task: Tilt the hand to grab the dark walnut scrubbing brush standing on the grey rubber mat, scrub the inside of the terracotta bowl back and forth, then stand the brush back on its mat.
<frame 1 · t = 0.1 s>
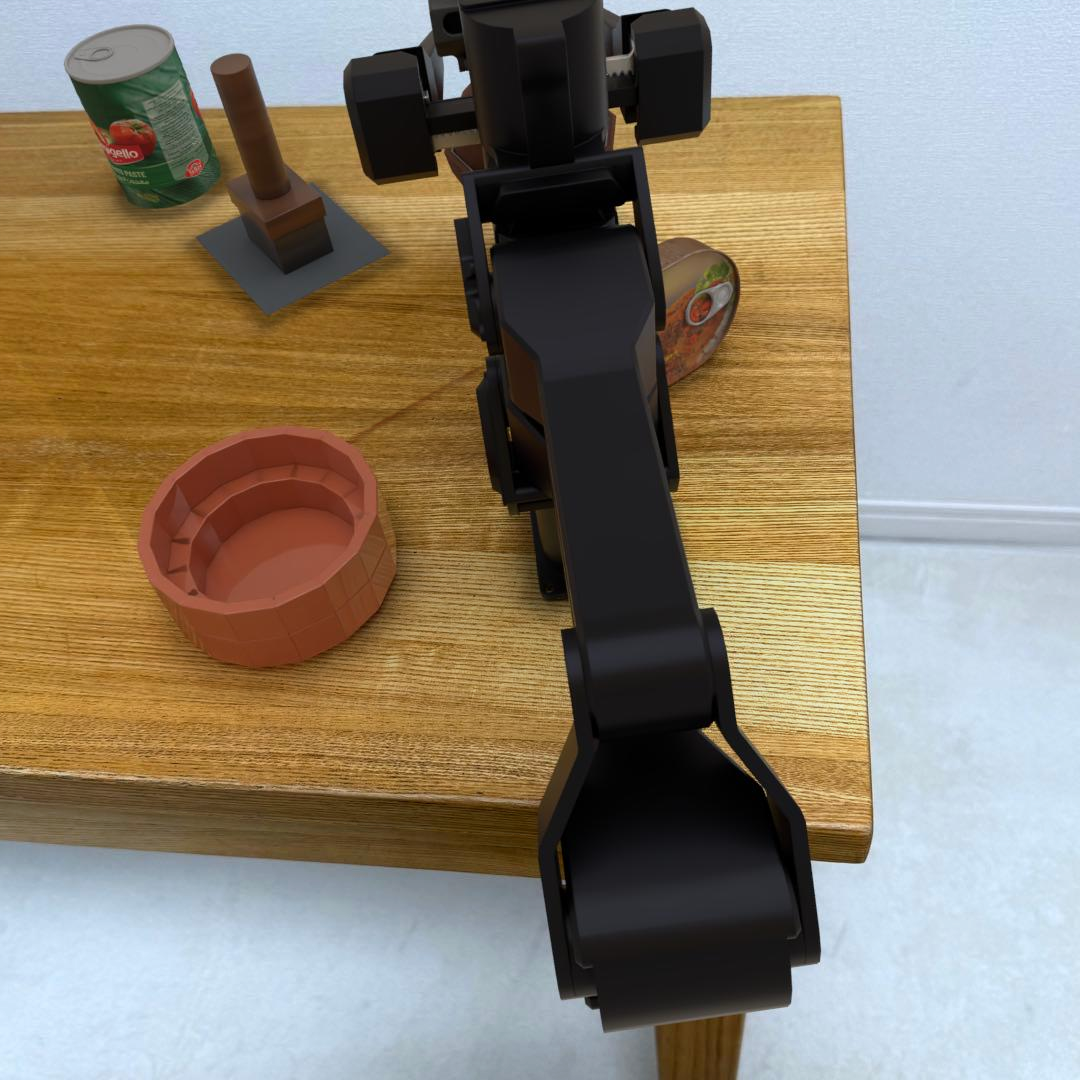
hand: (515, 26, 62), 17 cm above the table, tool horizontal, fingers open, 9 cm apart
bowl: (288, 576, 60), on the table
tin: (632, 389, 66), on the table
brush: (290, 244, 78), point 1 cm above the table, touching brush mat
canned tomato: (175, 187, 86), on the table
ice cream bowl: (545, 259, 75), on the table
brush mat: (293, 251, 78), on the table
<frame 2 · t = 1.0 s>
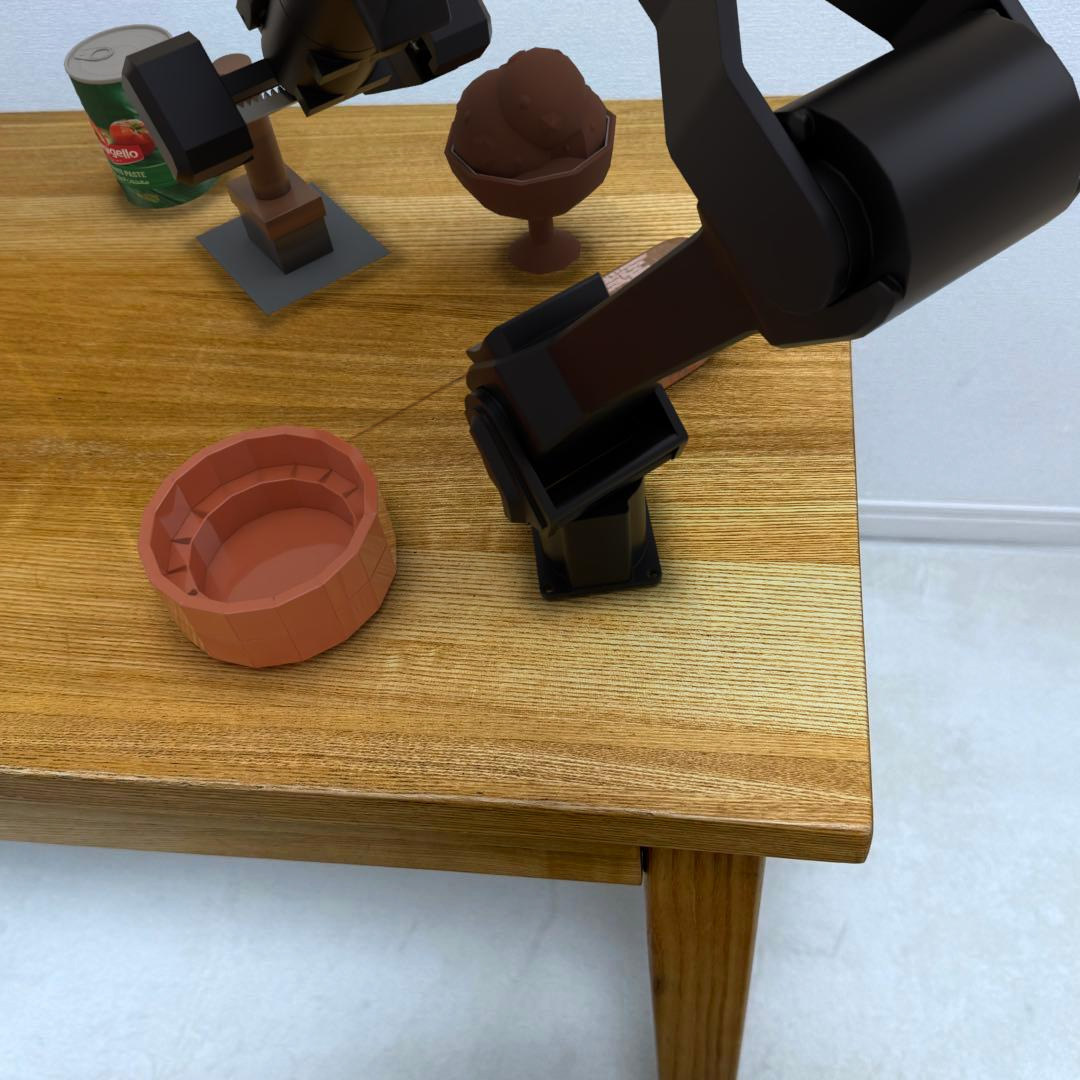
hand: (294, 115, 63), 14 cm above the table, tool tilted 45°, fingers open, 9 cm apart
nothing on the table moved.
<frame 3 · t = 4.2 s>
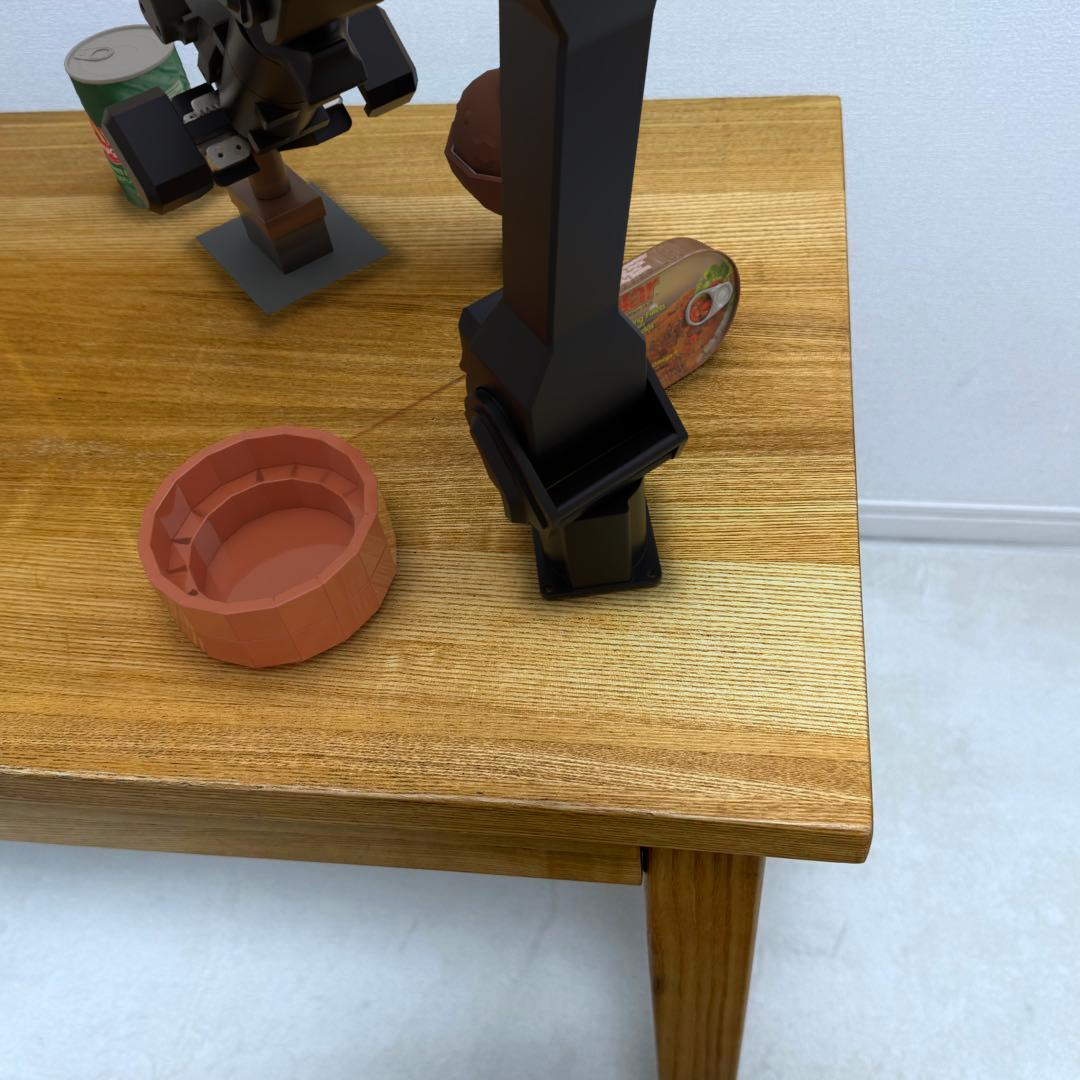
hand: (253, 152, 73), 7 cm above the table, tool tilted 45°, fingers closed on brush, 2 cm apart
brush: (290, 244, 78), point 1 cm above the table, touching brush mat, gripper
everything else where it was.
when the fingers open (7 cm above the table, at t = 20.1 s): brush stays where it is, resting on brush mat.
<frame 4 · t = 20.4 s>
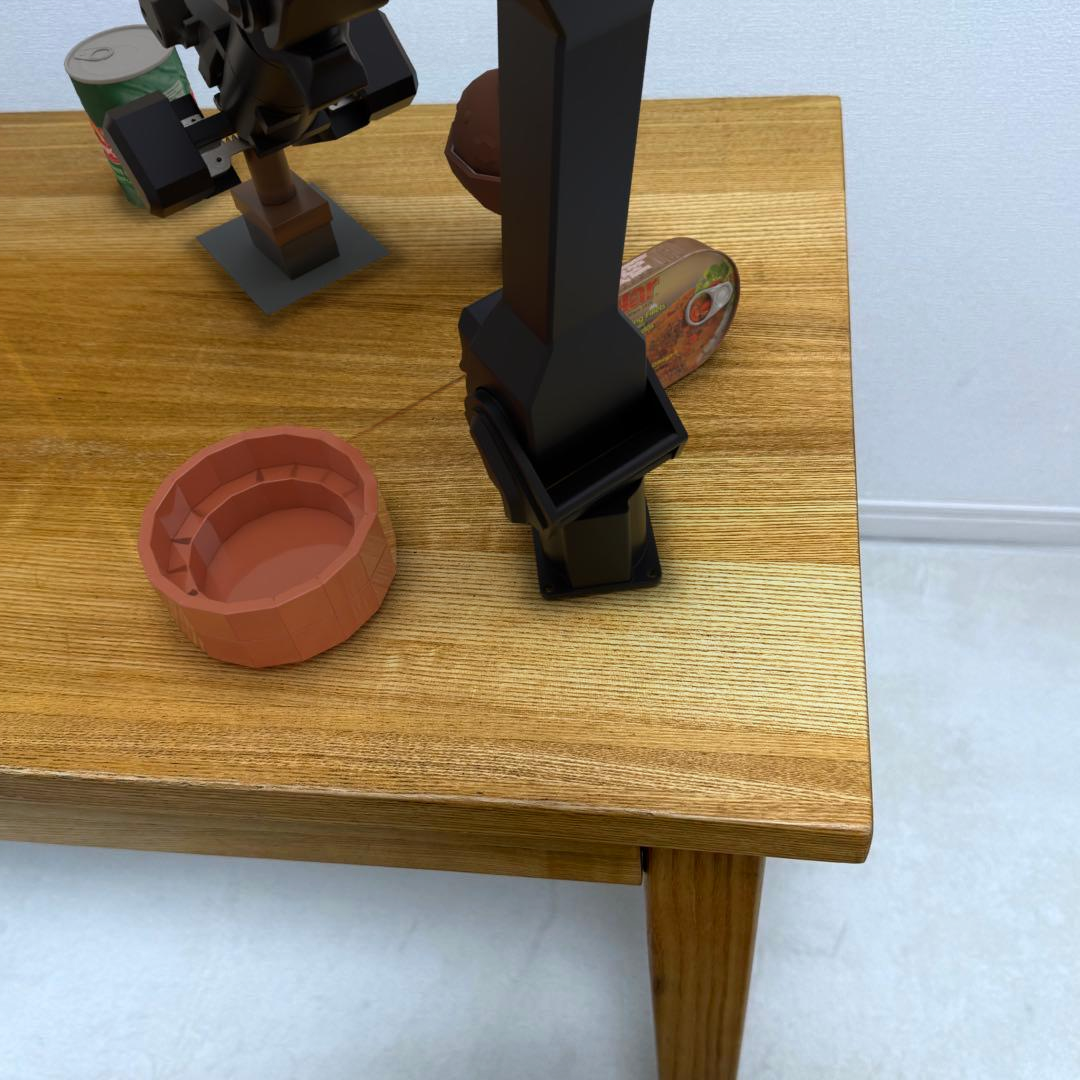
hand: (254, 155, 74), 7 cm above the table, tool tilted 45°, fingers open, 5 cm apart
brush: (296, 249, 77), point 1 cm above the table, touching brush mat
everything else where it was.
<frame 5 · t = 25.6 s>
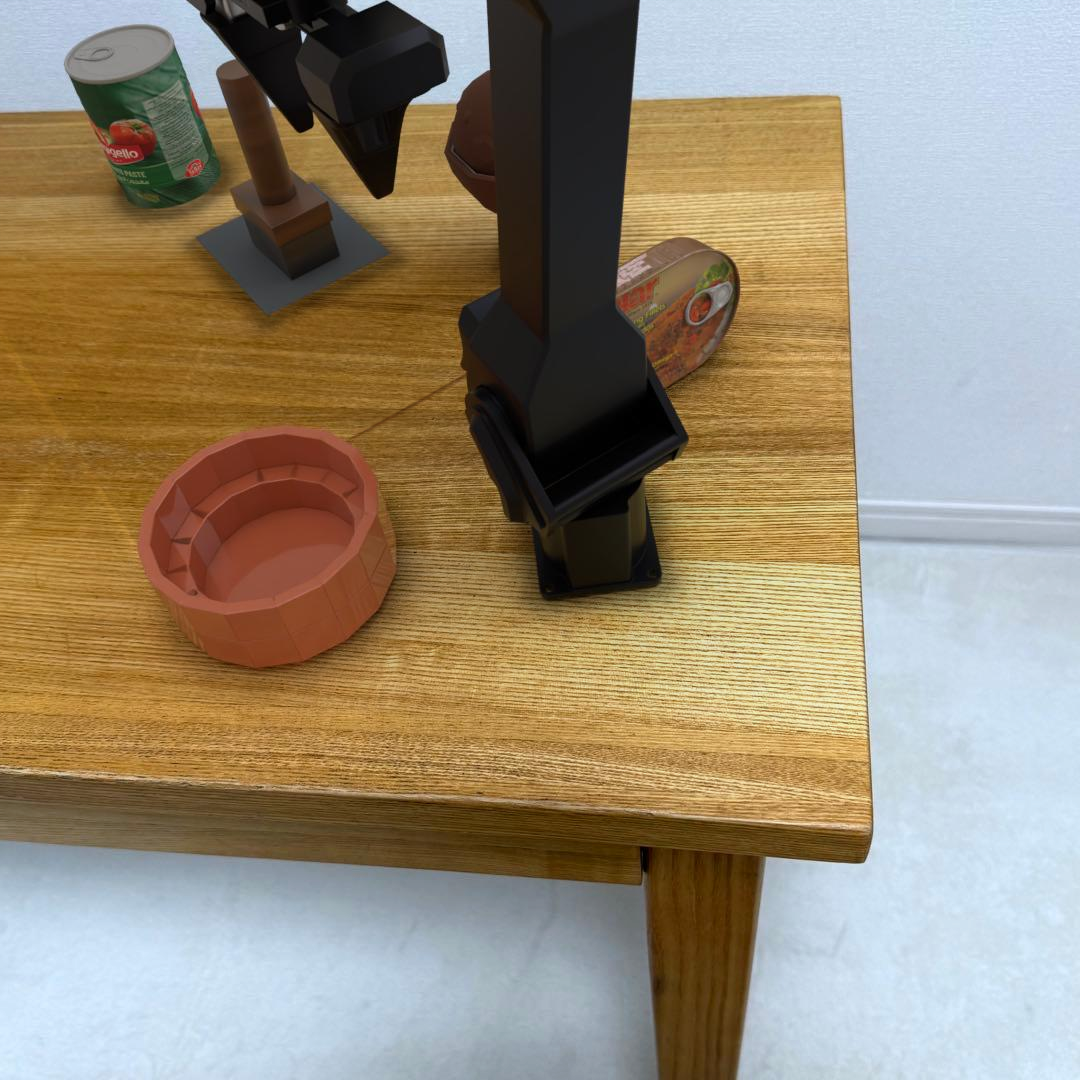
hand: (343, 161, 61), 13 cm above the table, tool pointing down, fingers open, 9 cm apart
nothing on the table moved.
at the end: brush 0.9 cm off-centre on the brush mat, point 0.6 cm above the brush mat's base; brush tilted 0°; brush touching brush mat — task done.
